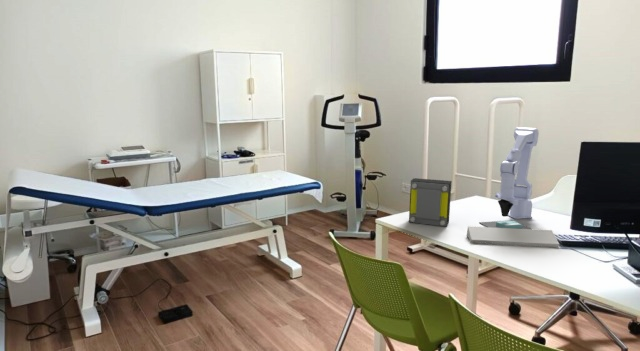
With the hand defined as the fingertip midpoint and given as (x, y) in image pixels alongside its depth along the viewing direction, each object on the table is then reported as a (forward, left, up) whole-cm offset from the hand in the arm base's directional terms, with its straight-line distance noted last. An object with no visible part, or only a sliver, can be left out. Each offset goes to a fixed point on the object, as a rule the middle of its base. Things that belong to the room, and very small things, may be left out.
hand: (504, 216), depth 212 cm
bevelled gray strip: (+10, +19, -6) cm, 23 cm away
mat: (0, +1, -5) cm, 5 cm away
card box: (0, 0, -3) cm, 3 cm away
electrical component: (+32, -12, -5) cm, 35 cm away
